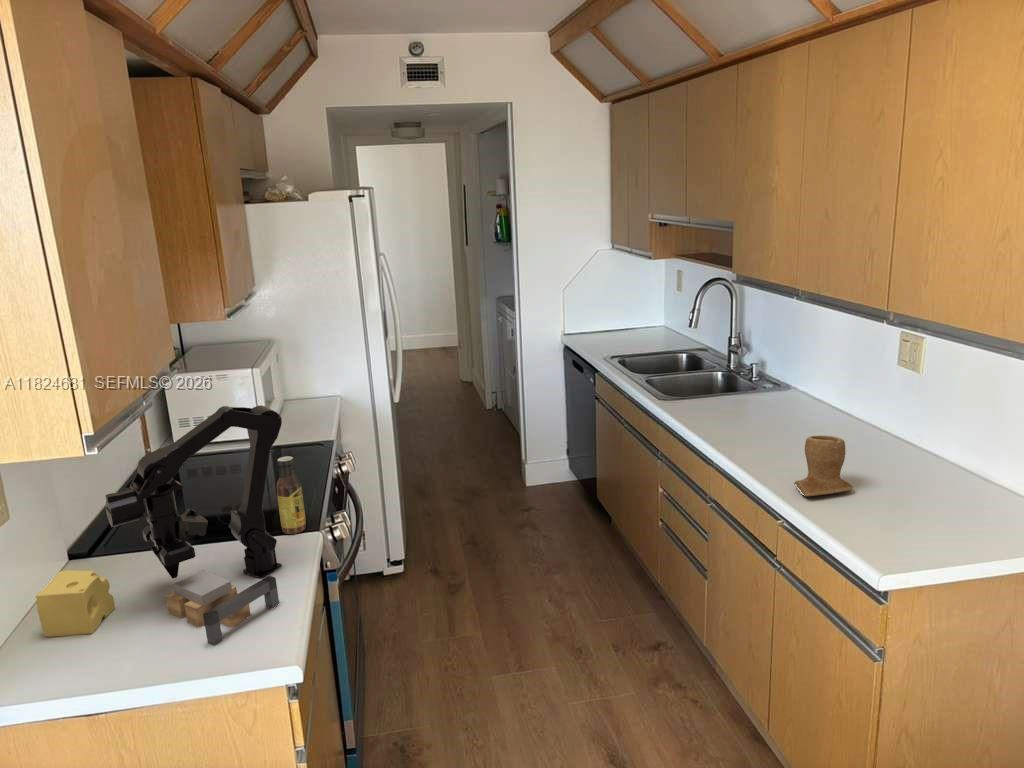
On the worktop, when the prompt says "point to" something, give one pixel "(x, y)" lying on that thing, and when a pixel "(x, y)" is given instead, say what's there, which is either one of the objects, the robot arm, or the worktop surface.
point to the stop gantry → (239, 606)
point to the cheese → (74, 603)
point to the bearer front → (204, 608)
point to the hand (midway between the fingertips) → (174, 577)
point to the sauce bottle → (290, 497)
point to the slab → (203, 587)
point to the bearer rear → (176, 605)
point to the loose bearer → (237, 617)
